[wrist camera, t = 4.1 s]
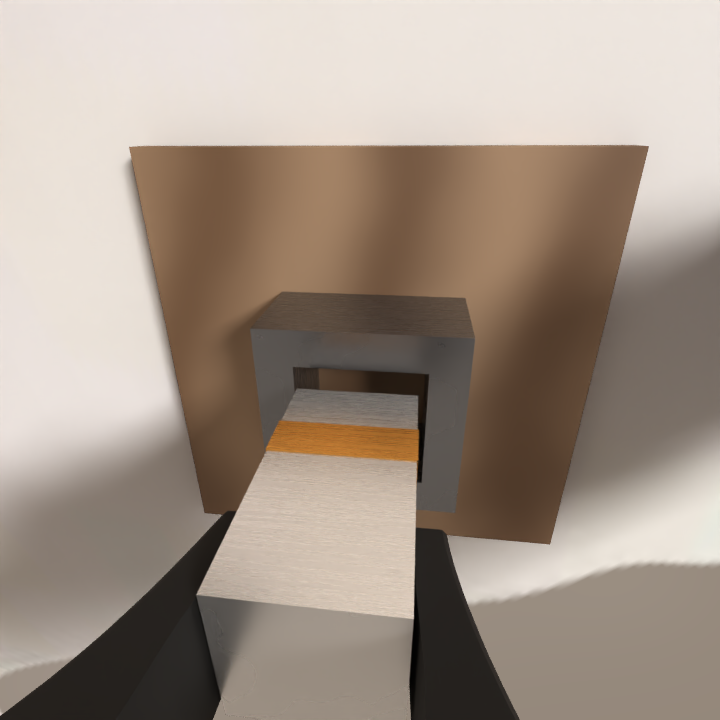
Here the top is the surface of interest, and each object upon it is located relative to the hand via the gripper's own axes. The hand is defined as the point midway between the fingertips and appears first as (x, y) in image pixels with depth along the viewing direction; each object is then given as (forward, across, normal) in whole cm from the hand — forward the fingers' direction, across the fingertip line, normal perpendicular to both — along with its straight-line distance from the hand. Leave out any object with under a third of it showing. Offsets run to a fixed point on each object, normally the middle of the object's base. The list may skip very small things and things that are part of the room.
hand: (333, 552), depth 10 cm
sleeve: (+9, 0, 0) cm, 9 cm away
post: (+4, 0, 0) cm, 4 cm away
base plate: (+9, 0, 0) cm, 9 cm away
